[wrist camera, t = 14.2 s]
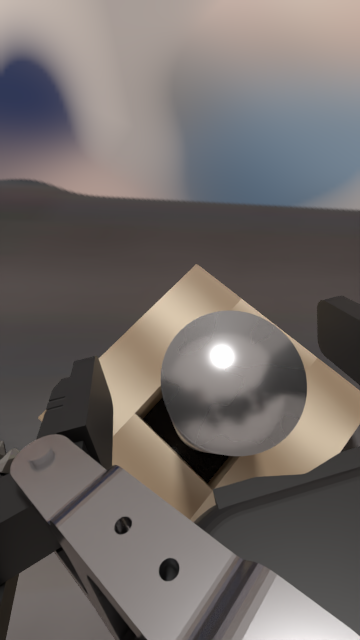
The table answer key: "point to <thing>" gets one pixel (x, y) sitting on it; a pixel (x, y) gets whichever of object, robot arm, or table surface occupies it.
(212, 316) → the pin
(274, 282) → the table surface
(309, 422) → the socket
